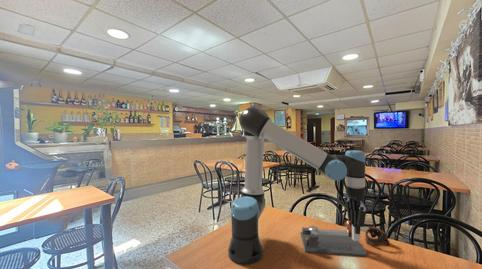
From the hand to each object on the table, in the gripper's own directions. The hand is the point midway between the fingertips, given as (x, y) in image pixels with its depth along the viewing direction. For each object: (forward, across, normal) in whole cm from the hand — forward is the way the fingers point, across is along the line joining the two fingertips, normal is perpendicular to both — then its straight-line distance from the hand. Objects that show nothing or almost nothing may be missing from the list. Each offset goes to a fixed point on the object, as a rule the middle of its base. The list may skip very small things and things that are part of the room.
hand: (355, 239), depth 90 cm
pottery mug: (+6, +6, -14) cm, 16 cm away
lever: (+3, +6, +10) cm, 12 cm away
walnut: (+3, +5, +19) cm, 20 cm away
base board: (+5, +6, +8) cm, 12 cm away
